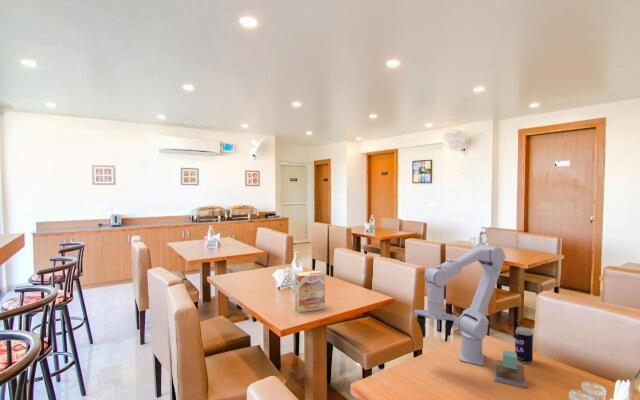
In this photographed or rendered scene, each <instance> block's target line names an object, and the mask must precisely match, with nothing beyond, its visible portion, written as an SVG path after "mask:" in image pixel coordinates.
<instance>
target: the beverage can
mask: <svg viewBox="0 0 640 400" xmlns="http://www.w3.org/2000/svg"><path fill="white" fill-rule="evenodd" d="M514 334H515V339H514V352H516V354H517V362H520V363H522V364H530V363H531V362H533V359H534V358H533V355H534V354H533V351H534V349H533V347H534V333H533V331H532V329H531V328H529V327H526V326H517V327H516V329H515V333H514Z"/></svg>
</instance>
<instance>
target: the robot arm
mask: <svg viewBox="0 0 640 400" xmlns="http://www.w3.org/2000/svg"><path fill="white" fill-rule="evenodd" d="M505 259H506V254H505V252H504V250H503V248H502V247H500V246H493V245H489V244H488V245H487V244H484V243H477V244H476V245H473V246H472V247H471V249H470V250H469V251H467V252H466V253H464V254H462V255H461V256H460V257H458V258H456V259H455V258H447V259H446V261H444V262H443V263H441V264H438V265H436V267H429V268H428V269H426V270H425V272H424V275H423V279H424V281H425V283H426V290H427V295H426V296H427V297H426V298H427V299H426V302H427V304H426V309H424V310H423V309H414V312H413V313H414V314H413V315H414V317H417V318H416V321H417V323H418V325H419V327H420V330H421V335H422V338H426V333H427V332H426V322H427V321H426V318H428V319H432V320H439V321H445V325H444V326H445V328H444V330H445V333H444V334H445V337H444V342H446V343H447V342H448V340H449V339H448V337H449V335H450V332H451V330H452V328H453V326H454V324H456V325H457V327H458V329H459V330H460V333H461V349H460V354H459V361H460V362H465V363H470V364H473V365H478V366H484V353H483V340H484V339H485V337H487V334H488V332H489V331H488V327H489V323H490V321H489V320H488V317H487V316H486V312H487V311H488V310H487V309H488V308H489V304H490V302H491V298H492V296H493V294H494V291H495V288H496V285H497V283H498V280H499V277H500V275H501V272H502V268H503V264H504V262H505ZM475 262H478V264H479V265H481V267H482V269H483V273H482V275H481V278H480V280H479V283H478V285H477V288H476V291H475V294H474V296H473V299H472V301H471V304H470V306H469V307H468V308H466V309H464V310H463V311H462V313H461V315H460V316H459V317H458V316H457V315H454V314H451V313H446V312H445V310H444V309H445V308H444V306H445V287H446V285H447V284H448V282H449V280H450V279H452V278H454V277H455V276H457V275H458V274H460V273H461V272H462V268H465V267H466V266H469V265H471V264H472V263H475Z"/></svg>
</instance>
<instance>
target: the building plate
mask: <svg viewBox="0 0 640 400" xmlns="http://www.w3.org/2000/svg"><path fill="white" fill-rule="evenodd" d="M493 372H494V373H493V374H494V382H497V383H502V384H505V385H510V386H515V387H519V388H523V389H526V388H527V384H526V379H525V378H524V382H520V381H515V380H511V379H506V378H502V377H497V376H496V365H495V366H493Z"/></svg>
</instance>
